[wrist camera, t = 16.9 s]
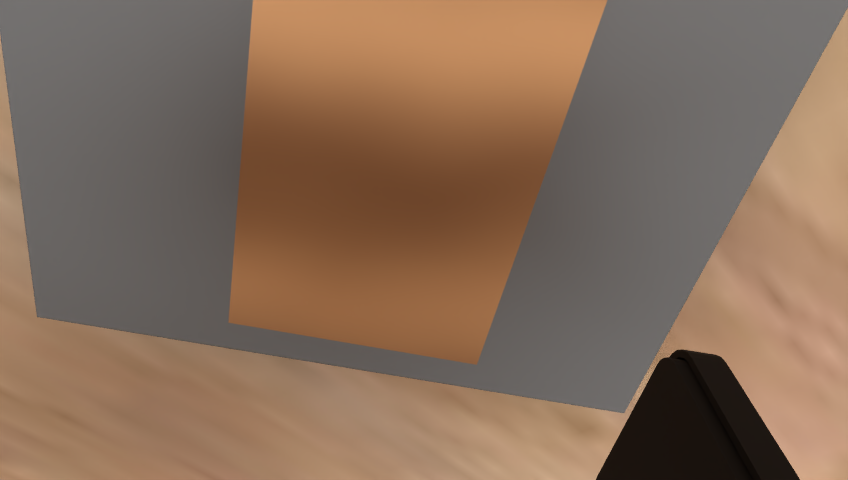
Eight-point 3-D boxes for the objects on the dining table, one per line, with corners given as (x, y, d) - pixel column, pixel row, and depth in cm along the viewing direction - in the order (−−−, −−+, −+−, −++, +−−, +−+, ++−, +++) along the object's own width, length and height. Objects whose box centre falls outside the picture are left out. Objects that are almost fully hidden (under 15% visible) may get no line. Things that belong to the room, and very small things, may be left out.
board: (614, 385, 26) (624, 414, 25) (57, 291, 24) (35, 318, 23) (965, -285, 15) (1017, -297, 14) (-36, -597, 12) (-91, -648, 11)
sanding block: (467, 259, 21) (476, 364, 17) (269, 221, 21) (228, 322, 16) (568, -67, 16) (618, -31, 12) (307, -132, 15) (261, -119, 11)
